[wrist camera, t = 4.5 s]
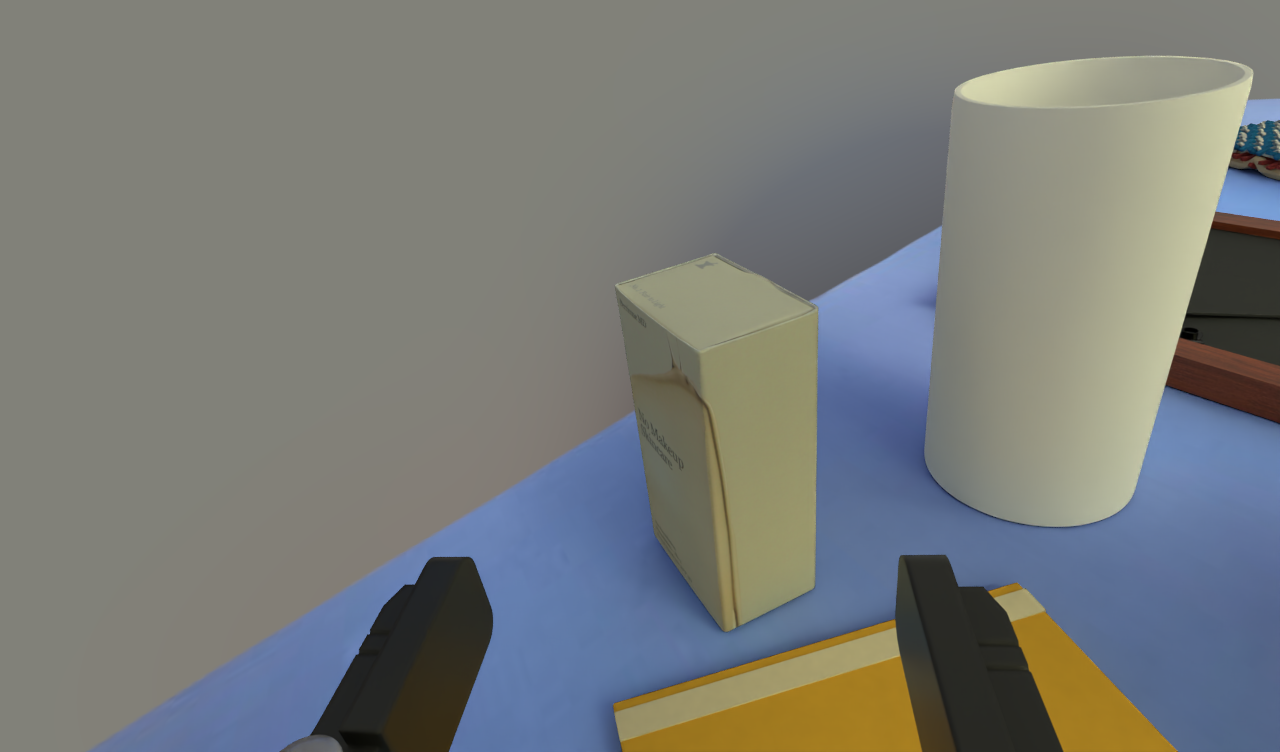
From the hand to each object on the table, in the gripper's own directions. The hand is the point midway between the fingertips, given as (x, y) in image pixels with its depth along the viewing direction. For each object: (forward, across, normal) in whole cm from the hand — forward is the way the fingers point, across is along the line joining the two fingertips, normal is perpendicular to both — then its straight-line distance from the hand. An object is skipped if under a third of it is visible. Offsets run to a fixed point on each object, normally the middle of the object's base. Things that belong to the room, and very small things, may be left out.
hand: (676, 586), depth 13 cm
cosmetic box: (+11, 0, +11) cm, 16 cm away
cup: (+17, -13, +11) cm, 24 cm away
